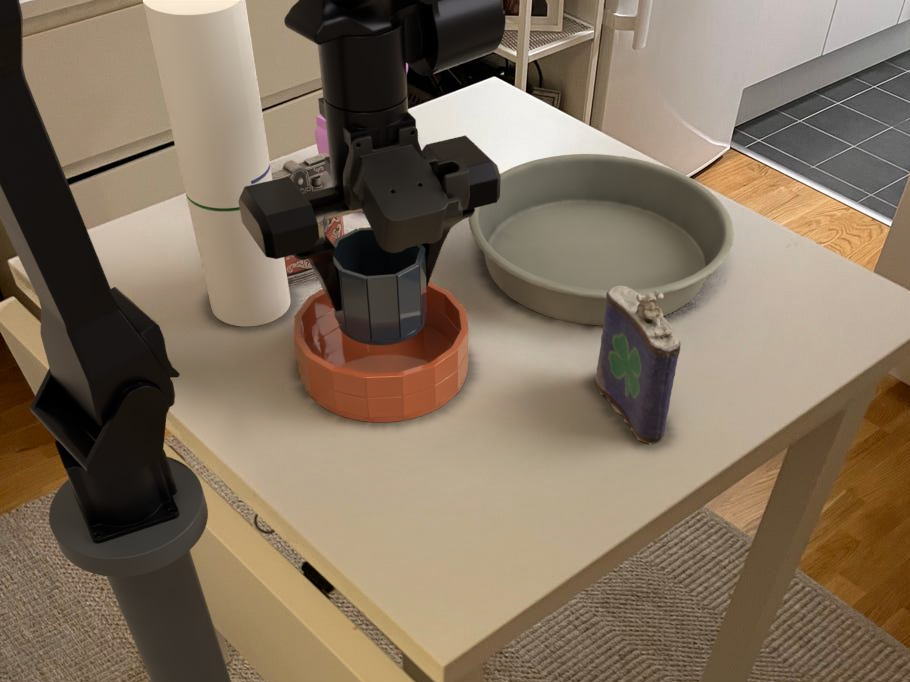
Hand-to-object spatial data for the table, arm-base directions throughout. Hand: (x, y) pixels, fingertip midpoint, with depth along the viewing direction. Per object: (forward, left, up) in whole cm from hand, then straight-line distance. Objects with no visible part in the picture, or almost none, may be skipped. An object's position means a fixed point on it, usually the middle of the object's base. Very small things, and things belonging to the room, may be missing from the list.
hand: (379, 296), depth 80 cm
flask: (+16, -14, -7) cm, 22 cm away
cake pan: (+25, +6, -7) cm, 27 cm away
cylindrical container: (-7, +14, -7) cm, 17 cm away
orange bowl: (0, 0, -7) cm, 7 cm away
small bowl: (0, 0, -2) cm, 2 cm away
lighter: (0, +17, -7) cm, 18 cm away
